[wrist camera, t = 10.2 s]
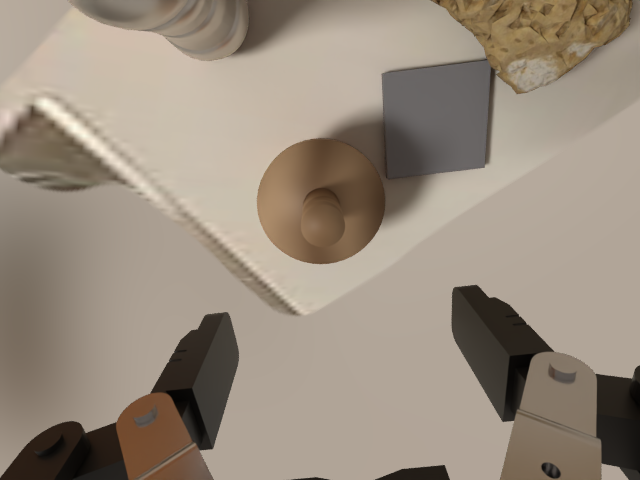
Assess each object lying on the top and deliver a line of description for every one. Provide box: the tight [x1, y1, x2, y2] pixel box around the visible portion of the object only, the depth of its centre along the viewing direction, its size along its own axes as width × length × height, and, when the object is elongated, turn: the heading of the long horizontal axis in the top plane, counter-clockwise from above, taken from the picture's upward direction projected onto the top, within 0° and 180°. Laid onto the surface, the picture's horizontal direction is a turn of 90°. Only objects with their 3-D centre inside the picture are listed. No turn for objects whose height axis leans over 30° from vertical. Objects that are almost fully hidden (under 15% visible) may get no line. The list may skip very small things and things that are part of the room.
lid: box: [257, 138, 385, 264], centre depth 26 cm, size 10×10×6 cm
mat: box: [382, 60, 491, 179], centre depth 31 cm, size 9×9×1 cm
